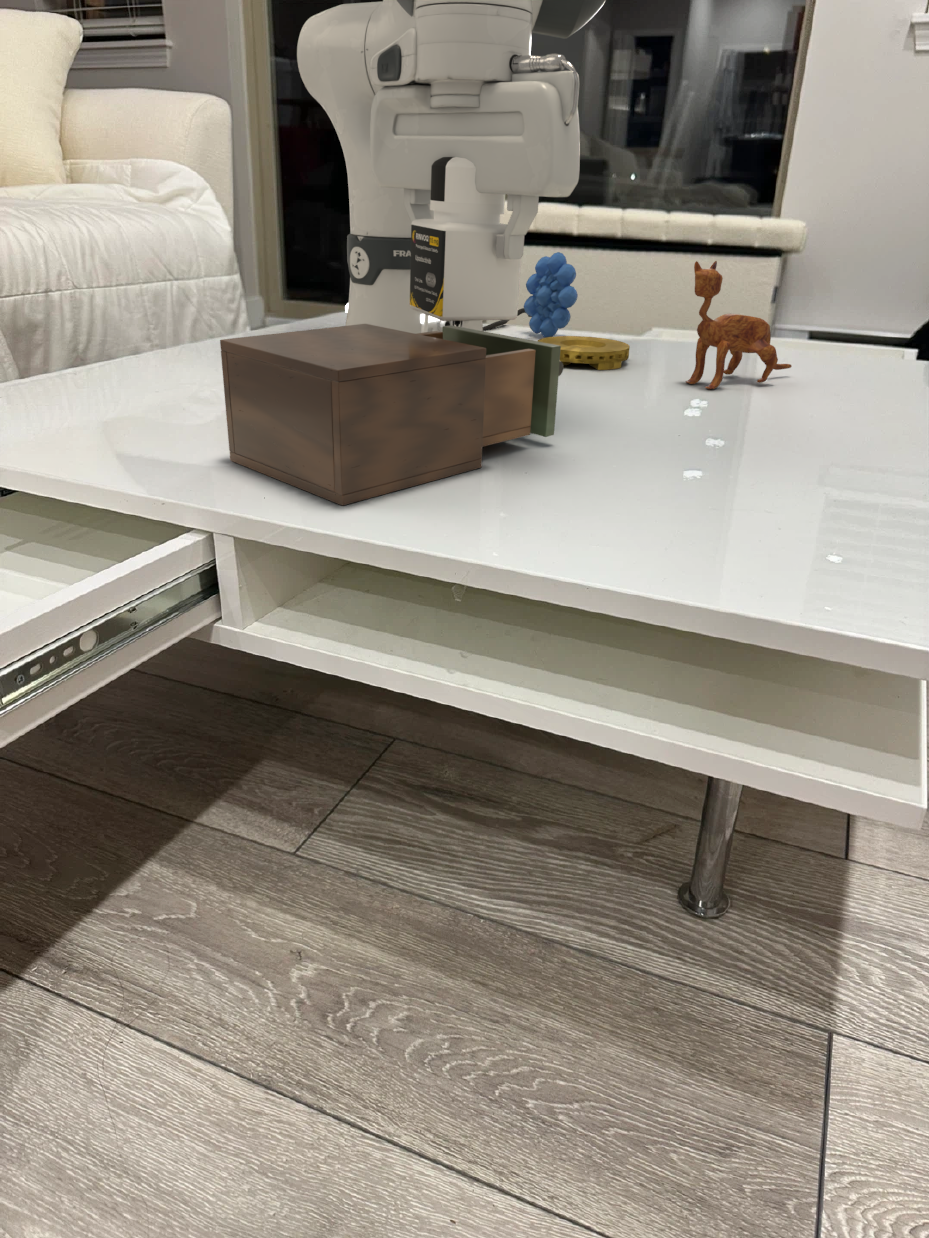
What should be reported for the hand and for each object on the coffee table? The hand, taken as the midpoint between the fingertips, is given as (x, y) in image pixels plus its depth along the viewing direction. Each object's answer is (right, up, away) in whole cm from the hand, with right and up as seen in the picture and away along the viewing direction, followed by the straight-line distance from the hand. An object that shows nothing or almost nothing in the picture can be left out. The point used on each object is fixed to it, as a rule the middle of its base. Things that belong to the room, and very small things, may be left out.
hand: (465, 253), depth 75 cm
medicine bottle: (0, -4, +2) cm, 5 cm away
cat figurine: (+33, -2, +34) cm, 48 cm away
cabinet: (-9, -18, -1) cm, 20 cm away
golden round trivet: (+15, +3, +43) cm, 46 cm away
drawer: (0, -13, +7) cm, 15 cm away
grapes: (+13, +11, +59) cm, 62 cm away
